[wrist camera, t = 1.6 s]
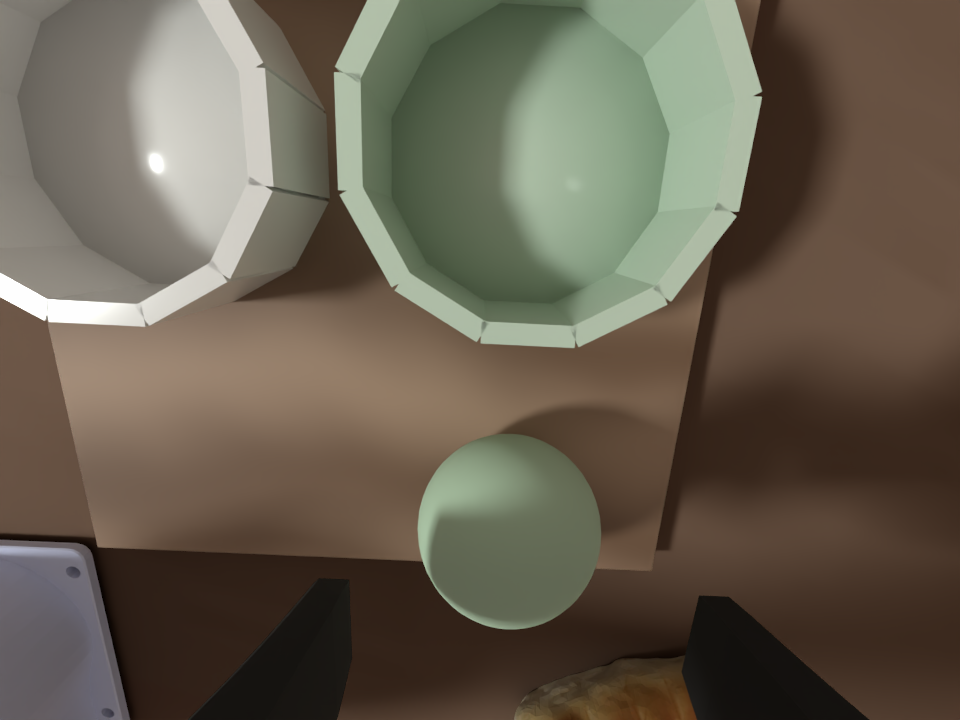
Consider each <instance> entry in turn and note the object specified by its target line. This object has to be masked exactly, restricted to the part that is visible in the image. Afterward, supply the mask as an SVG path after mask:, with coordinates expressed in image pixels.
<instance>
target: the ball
mask: <svg viewBox="0 0 960 720" xmlns="http://www.w3.org/2000/svg"><path fill="white" fill-rule="evenodd" d="M418 541H419V549H420V553H421V557H422V560H423V564H424V566H425V569H426V571H427V574H428V575H429V577H430V579H431V581H432V583H433V584H434V586H435V588H436V589H437V590H438V592H439V593H440V594H441V596H442V597H443V598H444V599H445V600H446V601H447V602H448V603H449V604H450V605H451V606H452V607H453V608H454V609H456V610H457V611H458V612H460V613H461V614H463V615H464V616H466V617H468V618H470V619H471V620H473V621H475V622H478V623H480V624H483V625H486V626H489V627H494V628H499V629H523V628H529V627H534V626H537V625H540V624H543V623H545V622H547V621H550V620H552V619H553V618H555V617H557V616H558V615H560V614H561V613H562V612H564V611H565V610H566V609H567V608H569V607H570V606H571V605H572V604H573V603H574V602H575V601H576V600H577V599H578V598H579V596H580V595H581V594H582V592H583V591H584V589H585V588H586V586H587V585H588V583H589V581H590V579H591V578H592V575H593V572H594V570H595V567H596V564H597V561H598V557H599V553H600V545H601V524H600V515H599V511H598V506H597V503H596V500H595V497H594V495H593V492H592V490H591V488H590V486H589V484H588V482H587V481H586V479H585V477H584V476H583V474H582V473H581V471H580V470H579V469H578V468H577V467H576V465H575V464H574V463H573V462H572V461H571V460H570V459H569V458H568V457H567V456H566V455H564V454H563V453H562V452H560V451H559V450H558V449H556V448H555V447H553V446H551V445H549V444H547V443H545V442H543V441H541V440H539V439H536V438H533V437H529V436H525V435H518V434H497V435H490V436H486V437H482V438H479V439H477V440H474V441H471V442H469V443H468V444H466V445H464V446H462V447H461V448H459V449H458V450H456V451H455V452H454V453H453V454H451V455H450V456H449V457H448V458H447V459H446V460H445V461H444V462H443V463H442V464H441V465H440V467H439V468H438V469H437V470H436V472H435V473H434V475H433V477H432V478H431V480H430V482H429V483H428V485H427V488H426V490H425V493H424V495H423V498H422V502H421V506H420V510H419V518H418Z"/></svg>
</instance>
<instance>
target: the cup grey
mask: <svg viewBox="0 0 960 720" xmlns="http://www.w3.org/2000/svg"><path fill="white" fill-rule="evenodd" d="M324 111H325V109H324V107H323V105H322V104H321V102H320V100H319V98H318V96H317V94H316V93H315V91H314V89H313V87H312V85H311V83H310V82H309V80H308V78H307V76H306V74H305V72H304V71H303V69H302V67H301V65H300V63H299V61H298V60H297V58H296V56H295V54H294V52H293V50H292V49H291V47H290V45H289V43H288V41H287V39H286V38H285V36H284V34H283V32H282V30H281V28H280V27H279V26H278V25H277V24H276V23H275V22H274V21H273V20H272V19H271V18H270V17H269V16H268V15H267V14H266V12H265V11H264V10H263V9H262V8H261V7H260V6H259V5H258V4H257V3H256V2H255V1H254V0H0V297H2V298H4V299H5V300H7V301H9V302H11V303H13V304H15V305H17V306H18V307H20V308H22V309H24V310H26V311H28V312H29V313H31V314H33V315H35V316H37V317H39V318H41V319H42V320H44V321H45V320H49V322H60V323H80V324H100V325H120V326H140V327H146V326H151V325H154V324H157V323H161V322H164V321H168V320H171V319H175V318H178V317H182V316H185V315H189V314H192V313H196V312H199V311H203V310H206V309H210V308H213V307H216V306H220V305H223V304H227V303H230V302H234V301H236V300H237V299H239V298H241V297H243V296H245V295H246V294H248V293H250V292H252V291H254V290H255V289H257V288H259V287H261V286H263V285H264V284H266V283H268V282H270V281H272V280H274V279H275V278H277V277H279V276H281V275H283V274H284V273H286V272H288V271H290V270H292V269H293V268H292V267H295V266H296V264H297V262H298V260H299V258H300V256H301V255H302V253H303V251H304V249H305V247H306V245H307V243H308V241H309V239H310V237H311V235H312V233H313V232H314V230H315V228H316V226H317V224H318V222H319V220H320V218H321V216H322V214H323V212H324V210H325V209H326V207H327V205H328V203H329V202H328V201H327V200H325V198H330V193H329V168H328V144H327V119H326V114H325V113H324Z"/></svg>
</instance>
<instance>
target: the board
mask: <svg viewBox="0 0 960 720" xmlns="http://www.w3.org/2000/svg"><path fill="white" fill-rule="evenodd" d="M254 1H255V2H256V3H257V4H258V5H259V6H260V7H261V8H262V9H263V10H264V11H265V12H266V14H267V15H268V16H269V17H270V18H271V19H272V20H273V21H274V22H275V23H276V24H277V25H278V26H279V27H280V28H281V30H282V32H283V34H284V36H285V38H286V39H287V41H288V43H289V45H290V47H291V49H292V50H293V52H294V54H295V56H296V58H297V60H298V61H299V63H300V65H301V67H302V69H303V71H304V72H305V74H306V76H307V78H308V80H309V82H310V83H311V85H312V87H313V89H314V91H315V93H316V94H317V96H318V98H319V100H320V102H321V104H322V105H323V107H324V109H325V111H324V113H325V114H326V119H327V144H328V168H329V193H330V198H325V200H327V201H328V202H329V203H328V205H327V207H326V209H325V210H324V212H323V214H322V216H321V218H320V220H319V222H318V224H317V226H316V228H315V230H314V232H313V233H312V235H311V237H310V239H309V241H308V243H307V245H306V247H305V249H304V251H303V253H302V255H301V256H300V258H299V260H298V262H297V264H296V266H295V267H292V268H293V269H292V270H290V271H288V272H286V273H284V274H283V275H281V276H279V277H277V278H275V279H274V280H272V281H270V282H268V283H266V284H264V285H263V286H261V287H259V288H257V289H255V290H254V291H252V292H250V293H248V294H246V295H245V296H243V297H241V298H239V299H237V300H236V301H234V302H230V303H227V304H223V305H220V306H216V307H213V308H210V309H206V310H203V311H199V312H196V313H192V314H189V315H185V316H182V317H178V318H175V319H171V320H168V321H164V322H161V323H157V324H154V325H151V326H146V327H140V326H120V325H100V324H80V323H60V322H49V320H47V322H48V327H49V331H50V336H51V340H52V345H53V349H54V354H55V358H56V363H57V367H58V372H59V376H60V381H61V385H62V390H63V394H64V398H65V403H66V407H67V412H68V416H69V421H70V425H71V430H72V434H73V439H74V443H75V448H76V452H77V457H78V461H79V466H80V470H81V475H82V479H83V483H84V488H85V492H86V497H87V501H88V506H89V510H90V515H91V519H92V524H93V528H94V533H95V537H96V542H97V546H98V547H103V548H126V549H150V550H173V551H196V552H219V553H243V554H266V555H289V556H313V557H336V558H359V559H382V560H406V561H423V560H422V557H421V553H420V549H419V541H418V518H419V510H420V506H421V502H422V498H423V495H424V493H425V490H426V488H427V485H428V483H429V482H430V480H431V478H432V477H433V475H434V473H435V472H436V470H437V469H438V468H439V467H440V465H441V464H442V463H443V462H444V461H445V460H446V459H447V458H448V457H449V456H450V455H451V454H453V453H454V452H455V451H456V450H458V449H459V448H461V447H462V446H464V445H466V444H468V443H469V442H471V441H474V440H477V439H479V438H482V437H486V436H490V435H497V434H518V435H525V436H529V437H533V438H536V439H539V440H541V441H543V442H545V443H547V444H549V445H551V446H553V447H555V448H556V449H558V450H559V451H560V452H562V453H563V454H564V455H566V456H567V457H568V458H569V459H570V460H571V461H572V462H573V463H574V464H575V465H576V467H577V468H578V469H579V470H580V471H581V473H582V474H583V476H584V477H585V479H586V481H587V482H588V484H589V486H590V488H591V490H592V492H593V495H594V497H595V500H596V503H597V506H598V511H599V515H600V524H601V545H600V553H599V557H598V561H597V564H596V567H595V569H615V570H638V571H652V566H653V560H654V555H655V550H656V545H657V540H658V534H659V529H660V524H661V519H662V513H663V508H664V503H665V498H666V493H667V487H668V482H669V477H670V472H671V466H672V461H673V456H674V451H675V446H676V440H677V435H678V430H679V425H680V420H681V414H682V409H683V404H684V399H685V393H686V388H687V383H688V378H689V373H690V367H691V362H692V357H693V352H694V346H695V341H696V336H697V331H698V326H699V320H700V315H701V310H702V305H703V299H704V294H705V289H706V284H707V279H708V273H709V268H710V263H711V258H712V252H713V248H712V249H711V251H710V252H709V253H708V254H707V256H706V257H705V258H704V260H703V261H702V262H701V263H700V265H699V266H698V267H697V269H696V270H695V271H694V273H693V274H692V275H691V276H690V278H689V279H688V280H687V282H686V283H685V284H684V286H683V287H682V288H681V289H680V291H679V292H678V293H677V295H676V296H675V297H674V299H673V300H672V301H671V302H670V301H668V300H666V302H667V305H666V306H664V307H662V308H659V309H657V310H655V311H653V312H651V313H649V314H647V315H645V316H643V317H641V318H639V319H637V320H634V321H632V322H630V323H628V324H626V325H624V326H622V327H620V328H618V329H616V330H614V331H611V332H609V333H607V334H605V335H603V336H601V337H599V338H597V339H595V340H593V341H591V342H589V343H586V344H584V345H582V346H580V347H578V346H577V345H576V343H575V348H562V347H542V346H522V345H502V344H482V343H481V336H480V338H479V339H478V341H477V342H476V341H474V340H472V339H471V338H469V337H468V336H466V335H464V334H463V333H461V332H460V331H458V330H456V329H455V328H453V327H452V326H450V325H448V324H447V323H445V322H444V321H442V320H441V319H439V318H437V317H436V316H434V315H433V314H431V313H429V312H428V311H426V310H425V309H423V308H421V307H420V306H418V305H417V304H415V303H413V302H412V301H410V300H409V299H407V298H406V297H404V296H402V295H401V294H399V293H398V292H396V291H395V289H396V288H397V286H398V284H397V285H395V286H393V287H391V286H390V284H389V282H388V280H387V278H386V277H385V275H384V273H383V271H382V270H381V268H380V266H379V264H378V262H377V261H376V259H375V257H374V255H373V254H372V252H371V250H370V248H369V247H368V245H367V243H366V241H365V239H364V238H363V236H362V234H361V232H360V231H359V229H358V227H357V225H356V223H355V222H354V220H353V218H352V216H351V215H350V213H349V211H348V209H347V207H346V206H345V204H344V202H343V200H342V199H341V197H340V194H342V193H344V192H343V191H340V190H338V175H337V146H336V118H335V90H334V72H339V71H338V69H337V68H336V67H335V66H336V63H337V61H338V59H339V57H340V55H341V53H342V51H343V49H344V47H345V45H346V43H347V41H348V39H349V37H350V35H351V33H352V31H353V29H354V26H355V24H356V22H357V20H358V18H359V16H360V14H361V12H362V10H363V8H364V6H365V4H366V2H367V0H254ZM735 2H736V5H737V9H738V12H739V16H740V19H741V22H742V26H743V29H744V32H745V36H746V39H747V43H748V46H749V49H750V53H751V49H752V44H753V38H754V33H755V28H756V23H757V18H758V12H759V7H760V2H761V0H735Z"/></svg>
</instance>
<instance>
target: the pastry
mask: <svg viewBox="0 0 960 720" xmlns="http://www.w3.org/2000/svg"><path fill="white" fill-rule="evenodd" d="M684 658H685V655H684V656H680V657H677V658H671V659H661V658H651V659H638V658H621V659H617V660H615V661H614V662H613V663H612V664H610V665H607V666H601V667H596V668H593V669H591V670H588V671H585V672H581V673H578V674H573V675H569V676H566V677H564V678H561V679H558V680H556V681H553V682H551V683H549V684H545V685H543V686H541V687H539V688H538V689H536V690H534V691H532V692H530V693H529V694H528V695H526V697H525V698H524V699H523V700H522V702H521V704H520V705H519V707H518V708H517V710H516V713H515V718H514V720H697V718H696V715H695V712H694V710H693V707H692V704H691V701H690V697H689V694H688V691H687V688H686V685H685V682H684V678H683V675H682V672H681V671H682V667H683V663H684Z"/></svg>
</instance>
